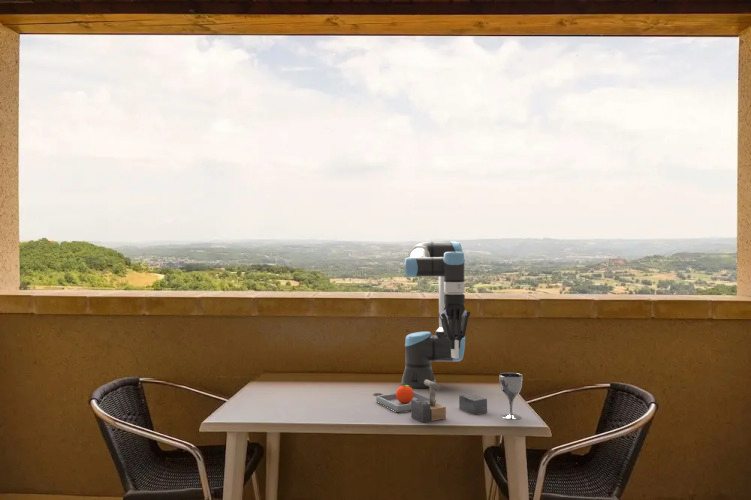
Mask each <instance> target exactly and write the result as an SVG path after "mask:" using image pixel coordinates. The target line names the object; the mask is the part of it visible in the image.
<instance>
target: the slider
mask: <svg viewBox="0 0 751 500" xmlns="http://www.w3.org/2000/svg"><path fill="white" fill-rule="evenodd" d="M424 384H425V385H427V386H430V387H429V398H430V402H429V403H428V404H430V417H431V421H433V422H434V421H440V420H445V419H447V409H446V408H447V407H446V406H445V405H442V404H439V403H437V402H436V403H435V400H436V390H438V391H439V390H441V388H442V385H441V384H440V383H439V382H436V381H435V382H432V381H430V380H425V381H424Z"/></svg>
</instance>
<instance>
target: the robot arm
mask: <svg viewBox="0 0 751 500" xmlns="http://www.w3.org/2000/svg"><path fill="white" fill-rule="evenodd" d="M407 256H408V257H405V258H404V274H405V276H406V277H411V278H415V277H438V328H437V329H436V330H435V334H432V332H431V331H417V332H411V333H409V334H407V335H406V336H405V339H404V340H405V343H404V347H405V351H404V352H405V363H404V364H405V368H404V371H403V375H402V377H401V386H403V385H409V387H410V386H411V387H412V388H411V389H426V388H427V389H428V388H430V386H427V385H425V384H424V381H425V380H430V381H432V382H435V383H436V378H435V375H434V374H435V373H434V371H433V369H432V362H451V363H452V362H461V361H462V360H463V359H464V356H465V355H464V354H465V347H466V331H467V326H468V322H469V317H470V315H471V312H470V311H468V310H466V308H465V302H466V300H465V299H466V297H465V294H464V293H465V285H466V284H465V283H466V282H465V261H466V260H465V253H464V252H463V248H462V243H460V242H459V241H451V240H449V241H445V240H444V241H424V242H420V243H417V244H415V245H413V246H412V247H411V248H410V249H409V252H408V254H407Z"/></svg>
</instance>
